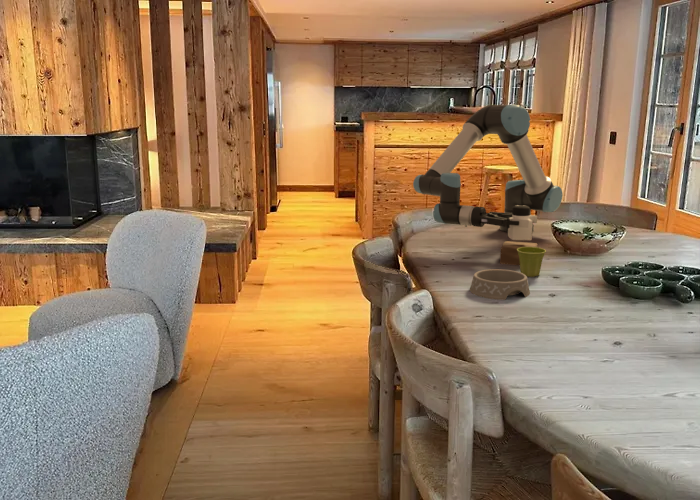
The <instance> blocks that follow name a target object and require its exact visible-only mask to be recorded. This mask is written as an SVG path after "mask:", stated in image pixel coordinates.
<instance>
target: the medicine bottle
mask: <svg viewBox="0 0 700 500" xmlns="http://www.w3.org/2000/svg"><path fill="white" fill-rule="evenodd" d="M529 217H530V207H528V206H524V205H517V206H514V207H513V213H512V217H511V218H513V219H524V220H529V228H525V227H514V226H510V228H508V232H507V237H508V238H509V239H510V240H511V241H532V239H533V232H532V228H533V225H534V223H533V221H532V220H530V219H529ZM511 218H509V219H510V220H511Z"/></svg>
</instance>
